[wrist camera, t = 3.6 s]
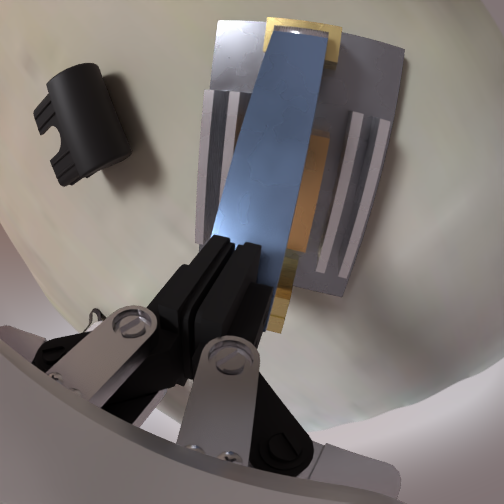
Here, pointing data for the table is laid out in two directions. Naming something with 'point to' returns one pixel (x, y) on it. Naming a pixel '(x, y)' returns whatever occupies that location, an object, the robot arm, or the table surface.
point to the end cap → (81, 124)
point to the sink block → (319, 152)
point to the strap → (273, 149)
